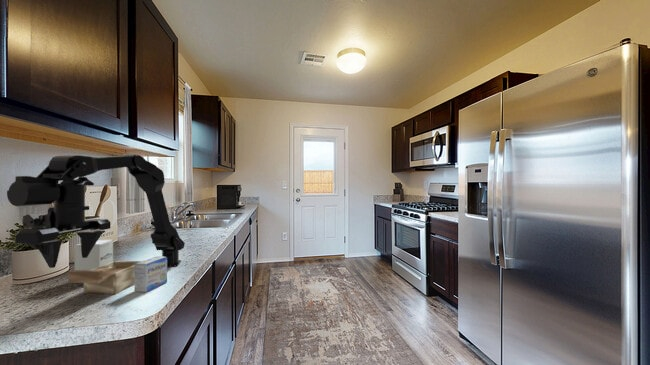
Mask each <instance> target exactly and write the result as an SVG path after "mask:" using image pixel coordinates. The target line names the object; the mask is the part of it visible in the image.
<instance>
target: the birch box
mask: <svg viewBox="0 0 650 365" xmlns="http://www.w3.org/2000/svg"><path fill="white" fill-rule="evenodd" d="M142 261H143V260H138V261H137V260H136V261H135V260H134V261H133V260H130V261H129V260H115V261H114V260H113V262H112V263H109V264H106V265H104V266H101V267H98V268H95V269H93V270H97V269H100V268H124V269H123V270H121V271H119V272H116V273H115V276H114V277H112V278H109V279H107V280H105V281H102V282H100V283H83V294H98V295H99V294H100V295H102V294H104V295H105V294H107V295H108V294H109V295H111V294H112V295H113V294H114V295H115V294H116V295H117V294H119V293H120V292H123V291H125V290H127V289H128V288H130V287H132V286H135V274H134V264H136V263H139V262H142Z"/></svg>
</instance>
